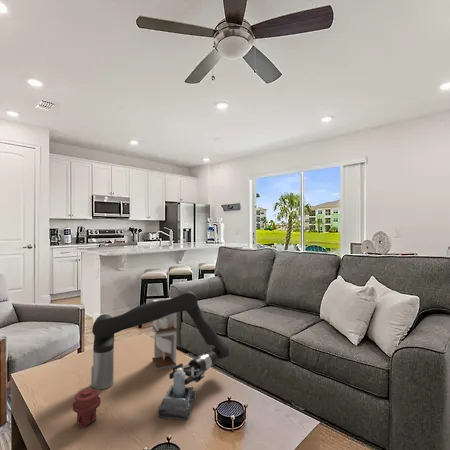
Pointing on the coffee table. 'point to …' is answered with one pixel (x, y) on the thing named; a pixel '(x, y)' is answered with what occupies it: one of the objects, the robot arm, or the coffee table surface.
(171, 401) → the square grey open box
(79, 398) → the mechanical component
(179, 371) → the pale blue squeeze bottle
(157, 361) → the white shelf unit
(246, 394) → the coffee table surface
